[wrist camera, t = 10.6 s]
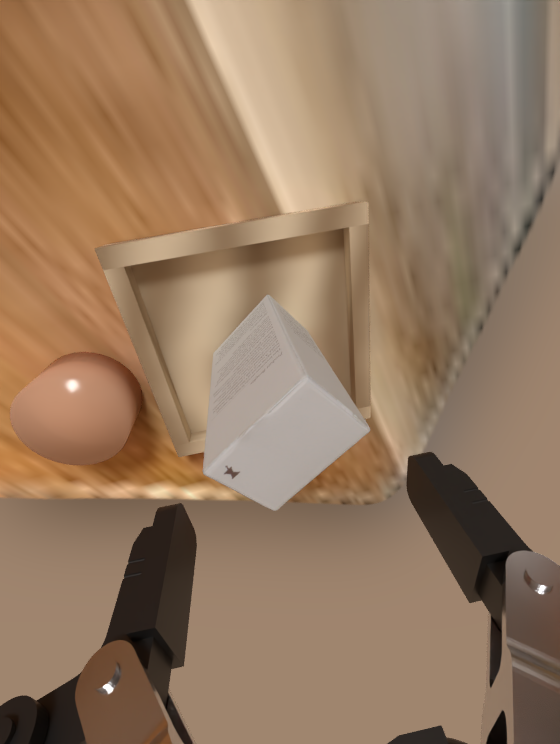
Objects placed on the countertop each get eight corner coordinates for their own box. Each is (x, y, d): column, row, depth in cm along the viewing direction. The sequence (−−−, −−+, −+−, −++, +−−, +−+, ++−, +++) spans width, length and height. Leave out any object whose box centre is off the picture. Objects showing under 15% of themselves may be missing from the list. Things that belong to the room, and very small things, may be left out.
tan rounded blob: (122, 343, 23) (102, 368, 20) (155, 420, 26) (143, 453, 23) (23, 362, 23) (-15, 391, 19) (69, 437, 26) (44, 474, 23)
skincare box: (255, 384, 25) (273, 517, 15) (211, 352, 23) (196, 476, 13) (311, 329, 23) (375, 432, 13) (268, 290, 22) (304, 372, 11)
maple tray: (356, 201, 21) (368, 201, 19) (362, 404, 28) (370, 417, 27) (106, 244, 20) (94, 248, 18) (181, 440, 28) (178, 457, 26)
